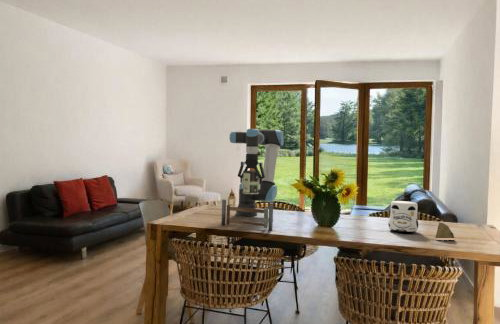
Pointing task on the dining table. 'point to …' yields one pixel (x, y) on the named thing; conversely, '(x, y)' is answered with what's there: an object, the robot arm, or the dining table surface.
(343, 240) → the dining table surface
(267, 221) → the gate leaf
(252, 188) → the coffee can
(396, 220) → the milk container
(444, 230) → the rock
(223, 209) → the gate posts
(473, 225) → the dining table surface
